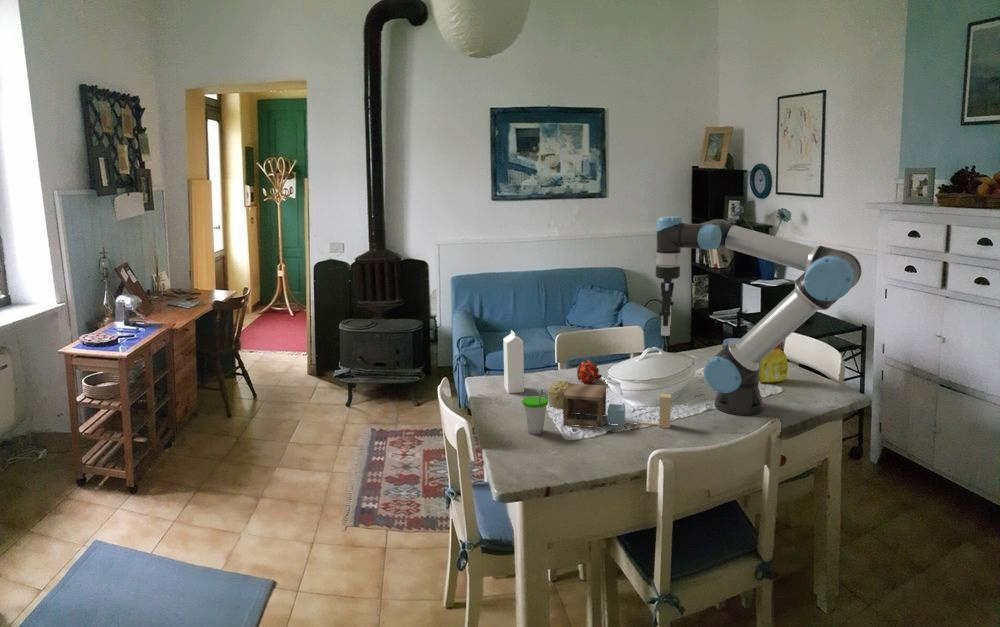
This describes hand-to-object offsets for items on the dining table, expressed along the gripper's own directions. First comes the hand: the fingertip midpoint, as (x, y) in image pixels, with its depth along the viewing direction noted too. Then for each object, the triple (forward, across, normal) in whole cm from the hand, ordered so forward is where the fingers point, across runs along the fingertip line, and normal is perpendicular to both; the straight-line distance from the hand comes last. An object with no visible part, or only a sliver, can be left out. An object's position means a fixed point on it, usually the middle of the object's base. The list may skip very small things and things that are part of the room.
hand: (665, 330), depth 226 cm
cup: (+27, +29, -38) cm, 54 cm away
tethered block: (+27, +16, -7) cm, 32 cm away
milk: (+27, -7, -53) cm, 60 cm away
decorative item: (+27, +3, -34) cm, 44 cm away
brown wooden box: (+27, +16, -24) cm, 39 cm away
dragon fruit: (+27, -21, -28) cm, 44 cm away
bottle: (+27, -34, +37) cm, 57 cm away
